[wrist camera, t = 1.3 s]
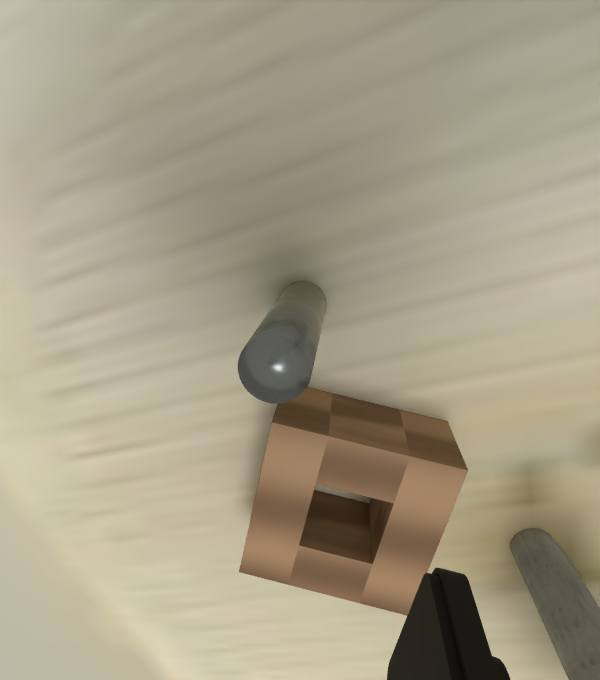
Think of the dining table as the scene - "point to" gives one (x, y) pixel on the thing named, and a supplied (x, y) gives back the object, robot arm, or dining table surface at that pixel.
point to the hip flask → (561, 602)
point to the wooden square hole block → (349, 515)
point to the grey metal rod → (284, 345)
